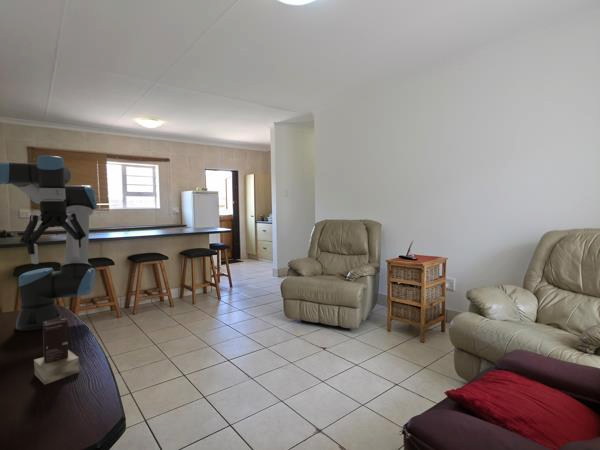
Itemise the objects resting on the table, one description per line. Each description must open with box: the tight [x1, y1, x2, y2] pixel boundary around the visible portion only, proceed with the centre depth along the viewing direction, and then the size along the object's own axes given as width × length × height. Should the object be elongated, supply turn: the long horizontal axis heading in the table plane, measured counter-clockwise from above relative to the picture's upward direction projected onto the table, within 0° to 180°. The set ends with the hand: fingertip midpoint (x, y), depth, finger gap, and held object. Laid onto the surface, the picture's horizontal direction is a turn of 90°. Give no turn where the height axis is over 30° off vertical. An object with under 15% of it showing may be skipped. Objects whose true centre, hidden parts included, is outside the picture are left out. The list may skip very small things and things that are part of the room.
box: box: [42, 316, 69, 363], centre depth 103 cm, size 6×4×12 cm
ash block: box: [33, 349, 80, 385], centre depth 104 cm, size 9×9×5 cm
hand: (56, 260), depth 120 cm, fingers open, 13 cm apart
